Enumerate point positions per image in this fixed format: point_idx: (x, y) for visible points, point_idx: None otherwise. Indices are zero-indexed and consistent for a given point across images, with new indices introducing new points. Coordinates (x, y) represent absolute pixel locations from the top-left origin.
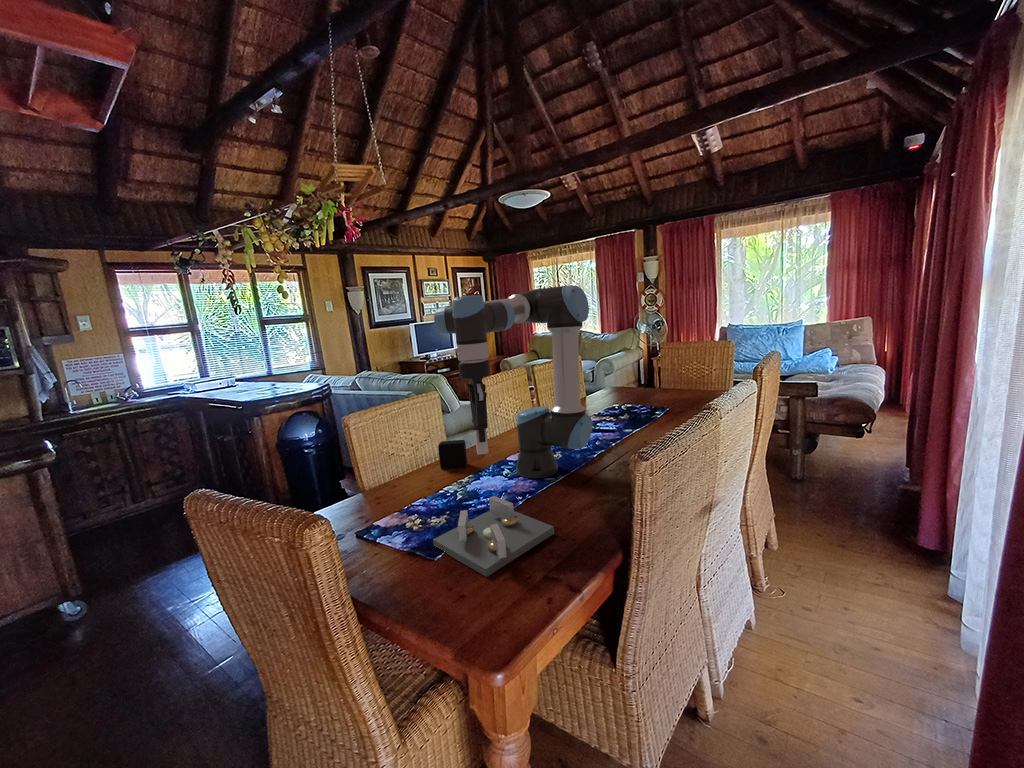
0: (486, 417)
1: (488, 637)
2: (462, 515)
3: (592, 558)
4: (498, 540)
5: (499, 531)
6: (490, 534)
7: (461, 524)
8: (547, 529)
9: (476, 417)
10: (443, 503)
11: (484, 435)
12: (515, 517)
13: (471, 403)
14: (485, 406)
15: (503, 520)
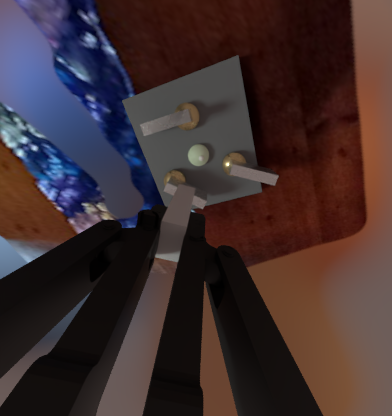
0: (259, 298)
1: (331, 220)
2: None
3: (330, 47)
4: (274, 183)
5: (254, 171)
6: (206, 159)
7: (202, 204)
8: (238, 71)
9: (220, 328)
10: (64, 165)
11: (203, 229)
12: (188, 106)
13: (30, 344)
14: (305, 396)
15: (185, 127)
